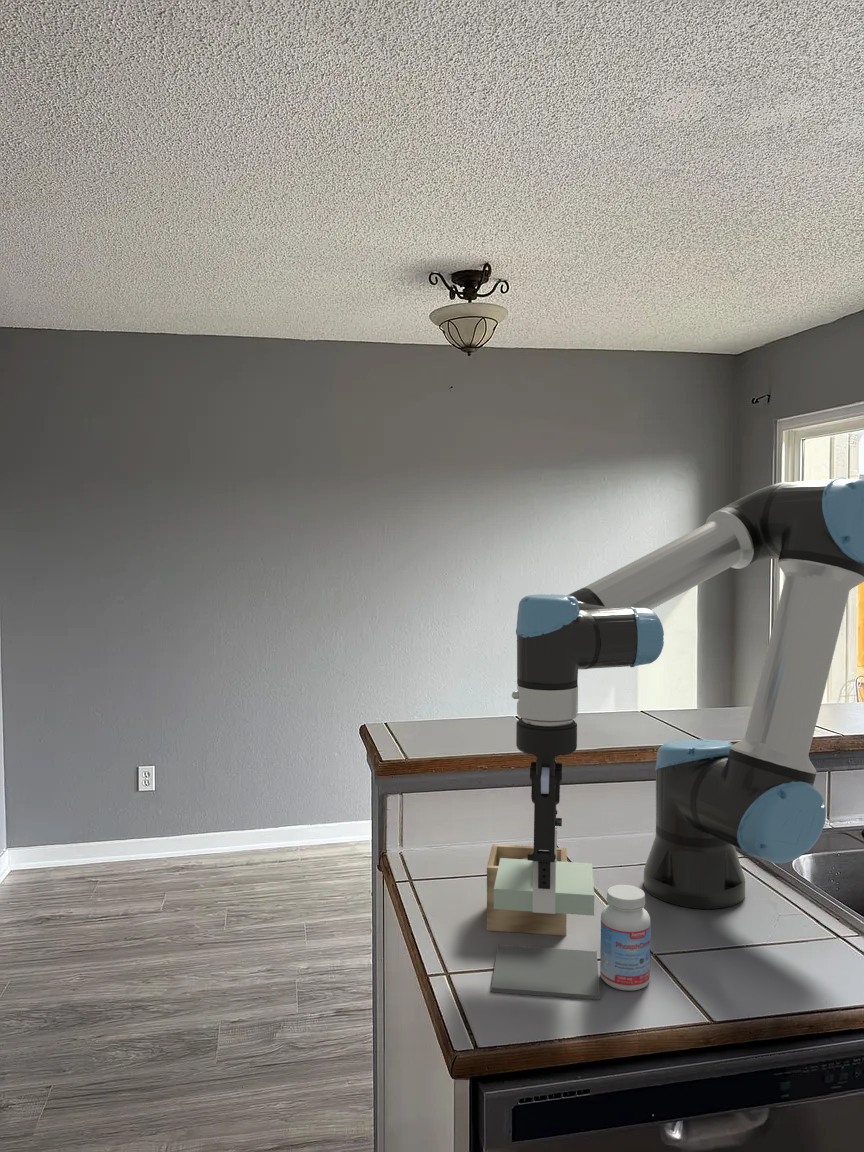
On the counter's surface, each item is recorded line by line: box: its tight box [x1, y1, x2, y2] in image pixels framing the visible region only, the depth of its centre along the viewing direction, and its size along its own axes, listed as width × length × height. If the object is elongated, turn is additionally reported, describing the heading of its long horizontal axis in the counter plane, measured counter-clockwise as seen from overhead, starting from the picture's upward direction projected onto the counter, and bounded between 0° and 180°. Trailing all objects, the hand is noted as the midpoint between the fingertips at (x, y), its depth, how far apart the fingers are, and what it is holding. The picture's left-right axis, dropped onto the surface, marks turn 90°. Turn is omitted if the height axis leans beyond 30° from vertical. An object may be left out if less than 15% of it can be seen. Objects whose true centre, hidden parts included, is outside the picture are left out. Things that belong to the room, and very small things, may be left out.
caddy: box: [486, 843, 568, 936], centre depth 127 cm, size 11×9×9 cm
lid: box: [494, 858, 595, 917], centre depth 112 cm, size 12×10×4 cm
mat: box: [490, 944, 601, 1001], centre depth 112 cm, size 13×11×1 cm
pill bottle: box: [599, 884, 651, 992], centre depth 110 cm, size 6×6×11 cm
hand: (545, 893), depth 112 cm, fingers closed on lid, 10 cm apart
